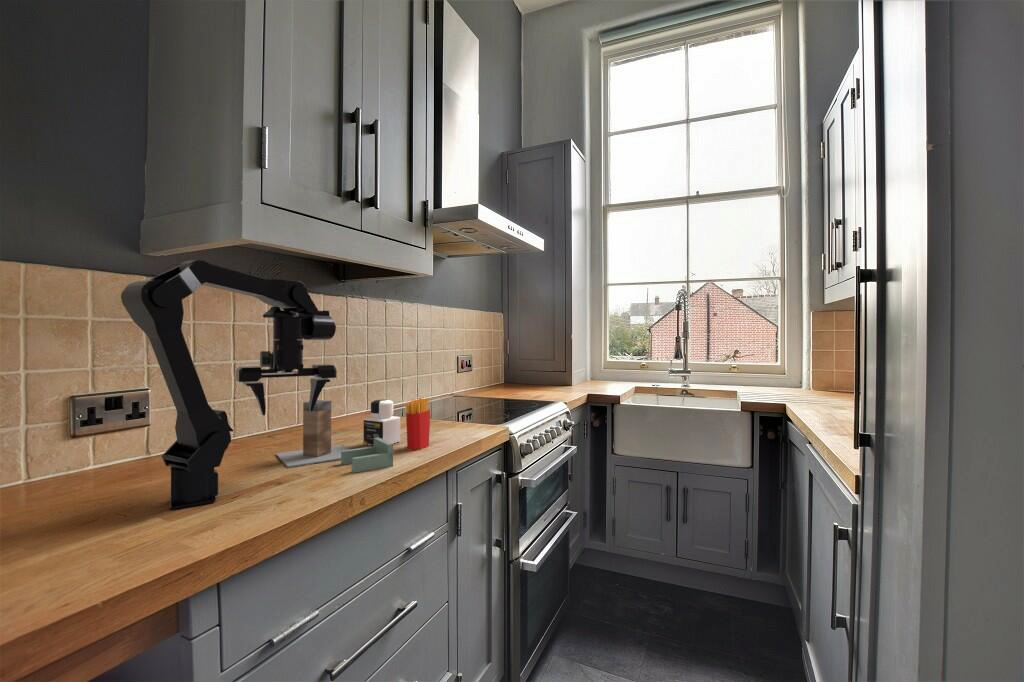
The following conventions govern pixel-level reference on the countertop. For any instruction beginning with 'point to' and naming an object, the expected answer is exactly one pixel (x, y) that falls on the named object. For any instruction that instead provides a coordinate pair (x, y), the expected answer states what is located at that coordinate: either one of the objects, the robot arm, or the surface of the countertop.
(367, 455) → the holder
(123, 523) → the countertop surface
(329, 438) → the brown rectangular block
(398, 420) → the medicine bottle
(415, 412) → the french fries
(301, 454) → the mat
